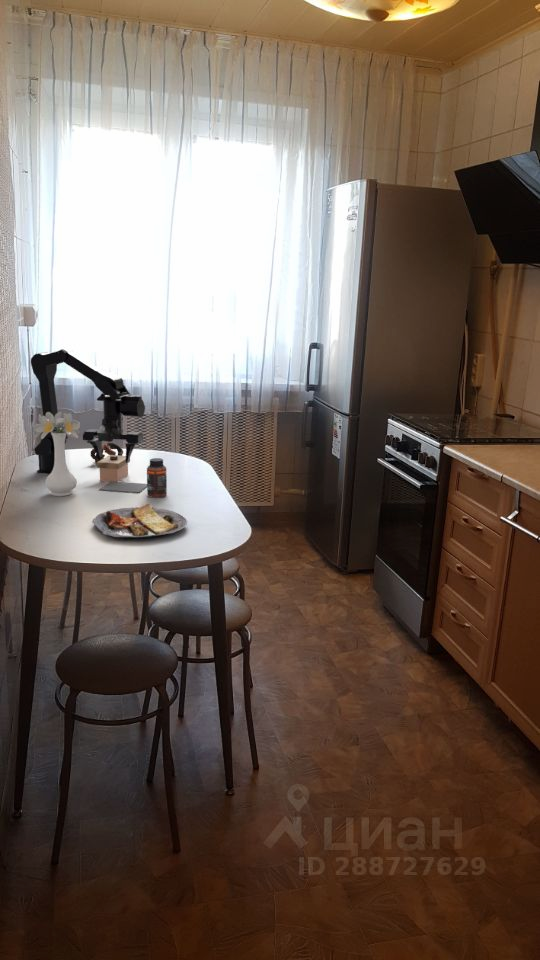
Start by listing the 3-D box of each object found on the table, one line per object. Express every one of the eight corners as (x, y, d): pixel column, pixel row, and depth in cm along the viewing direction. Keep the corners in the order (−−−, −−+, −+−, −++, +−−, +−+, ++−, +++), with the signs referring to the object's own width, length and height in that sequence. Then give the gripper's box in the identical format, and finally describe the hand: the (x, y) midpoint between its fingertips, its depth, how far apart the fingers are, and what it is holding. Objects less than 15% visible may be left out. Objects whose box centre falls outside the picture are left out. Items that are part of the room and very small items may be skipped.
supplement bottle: (170, 494, 235) (170, 458, 233) (160, 499, 230) (159, 462, 227) (154, 491, 238) (153, 456, 235) (143, 496, 233) (142, 460, 230)
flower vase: (85, 485, 243) (83, 407, 237) (78, 501, 226) (75, 417, 219) (43, 485, 242) (39, 406, 235) (33, 501, 224) (28, 417, 218)
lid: (97, 467, 247) (97, 459, 247) (109, 460, 258) (109, 452, 257) (118, 469, 246) (118, 460, 246) (130, 461, 257) (129, 453, 256)
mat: (98, 490, 238) (98, 489, 238) (110, 482, 247) (110, 481, 247) (139, 493, 236) (139, 491, 236) (149, 485, 245) (149, 483, 245)
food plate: (83, 519, 209) (82, 506, 208) (163, 510, 220) (163, 498, 219) (112, 550, 188) (112, 536, 187) (199, 538, 199) (199, 525, 198)
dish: (99, 480, 249) (99, 467, 248) (111, 473, 259) (110, 460, 257) (117, 482, 248) (117, 468, 247) (128, 474, 258) (127, 461, 257)
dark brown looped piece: (107, 459, 281) (117, 441, 278) (120, 475, 276) (130, 456, 274) (80, 456, 272) (91, 437, 269) (93, 472, 267) (104, 453, 264)
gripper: (75, 417, 242) (76, 465, 246) (131, 420, 239) (132, 469, 243) (88, 411, 252) (90, 458, 256) (143, 415, 250) (143, 461, 254)
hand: (113, 461), depth 252 cm, fingers open, 9 cm apart
